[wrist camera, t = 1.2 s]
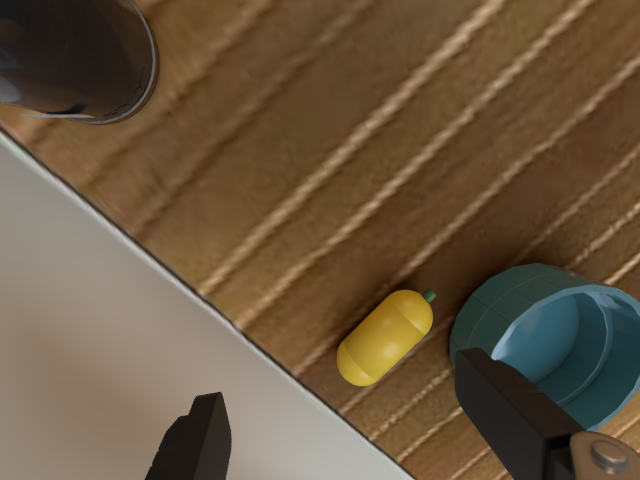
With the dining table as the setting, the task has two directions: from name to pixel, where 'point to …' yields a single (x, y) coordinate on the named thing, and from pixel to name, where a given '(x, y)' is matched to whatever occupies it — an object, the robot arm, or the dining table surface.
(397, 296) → the squash
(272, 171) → the dining table surface
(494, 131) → the dining table surface
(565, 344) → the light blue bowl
